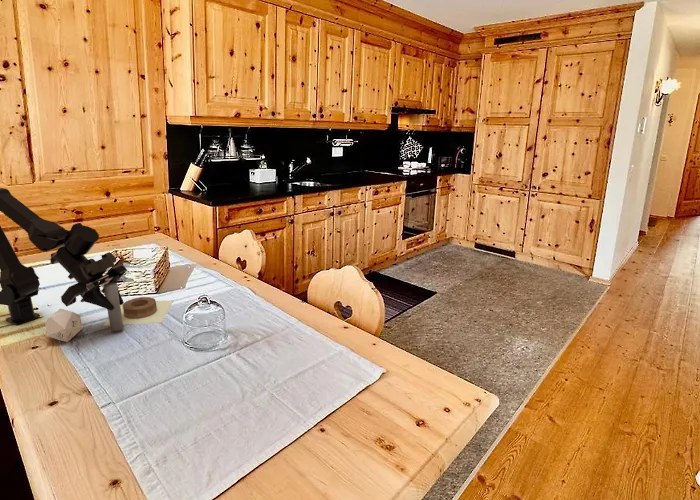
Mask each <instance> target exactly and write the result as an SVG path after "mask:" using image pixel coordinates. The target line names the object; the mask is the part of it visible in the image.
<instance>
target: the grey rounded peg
mask: <svg viewBox="0 0 700 500" xmlns="http://www.w3.org/2000/svg"><path fill="white" fill-rule="evenodd" d="M117 287H118V283H117V284H116V283H108V284H105V285H104V292H105V294H104V296H105V297H106V298H107V299H108V300H109V301H110V303H111V304H112V305H113V306H114V309H113V310H109V309H106V310H107V316H108V319H109V322H110V326H109V328H110V331H112V332H118V331H121V330H124V325H123V321H122V314H121V308H120V301H119V295H118V290H119V287H118V288H117Z"/></svg>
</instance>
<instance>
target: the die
mask: <svg viewBox="0 0 700 500" xmlns="http://www.w3.org/2000/svg"><path fill="white" fill-rule="evenodd" d="M44 327H45V334H46V336H47V337H49V338H52V339H55V340H59V341H62V342H65V343H69V342H70V341H71V339H73V338H74V337H75V336H76V335H77V334H78V333H79V332H80V331H81V330H83V328H84V326H83V322H82V318H81V315H80V314H78V313H76V312H74V311H71V310H67V309H64V308H59V309H57V310H56V311H55V312H54V313H53V314H51V316H50V317H48V318H47V319H46V320H45V322H44Z"/></svg>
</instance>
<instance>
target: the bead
mask: <svg viewBox="0 0 700 500" xmlns="http://www.w3.org/2000/svg"><path fill="white" fill-rule="evenodd" d="M156 301H157V300H156V299H155V298H154V297H151V296H140V297H134V298H131V299H129V300H126V301H124V302H125V303H124V304H123V311H124V316H125V317H126V318H129V319H139V318H144V317H148V316H150V315H153V314H154V313H155V312H156V311H157V306H156Z"/></svg>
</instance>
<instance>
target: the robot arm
mask: <svg viewBox="0 0 700 500" xmlns="http://www.w3.org/2000/svg"><path fill="white" fill-rule="evenodd" d="M0 212H1V213H3V214H4V215H5V216H6V217H7V218H8V219H10V220H11V221H13V223H15V224H16V225H17V226H19V227H20V228H21V229H22V230H24V231H25V232H26V233H27V236H28V239H29V241H30V242H31V243H32V244H33V245H34V247H36V248H37V249H38V250H39V251H41V252H43V253H45V252H51V251H54V250H55V249H57V250H56V251H55V252H52V253H50V262H49V263H50V264H51V265H54V264H56V263H59V265H60V266H61V267H62V268H63V269H65V271H66V272H68V276H67V278H68V279H69V280H73V279H74V280H75V281H76V282H77V283H75V284H73V285H70V286H69V287H68V288H67V289H66V290H65V291H64V292H63V294H62V295H61V296H60V299H61V300H60V301H61V303H63V305H64V306H65V307H69V306H71V305H73V304H75V303H76V302H77V297H78V296H80V297H81V300H80V303H84V302H85V303H87V304H88V303H89V304H92V305H95V306H98V307H100V308H104V309H106V310H107V309H109V310H113V309H114V306H113V305H112V304H111V303H110V301H109V300H108V299H107V298H106V297H105V292H104V285H105V284H108V283H116V284H117V285H118V281H120V279H121V278H122V277H123V276H124V275H125V274H126V272H127V271H128V268H126V267H125V265H124V264H117V265H115V263H116V262H117V259H116V257H115V255H114V254H112V252H110V251H109V252H107V253H104V254H101V259H97V260H96V259H94V258H87V256H85V255H87V254H88V253H89V251H91V249H92V248H93V247H94V246H95V244H96V243H97V242H98V240H99V239H100V235H99V232H98V231H97V230H96V229H95V228H93V227H90V226H88V225H83V224H82V223H81V222H77V223H74V224H73V225H72V226H71V227H70V230H68V229H65V228H64V227H63V226H61V225H60V224H58V223H56V222H55V221H51V220H47V219H45V218H43V217H40V215H38V214H37V213H36V212H34V211H33V210H31V209H30V207H28V206H26V204H23V202H21V201H20V200H18V199H17V198H16V197H15V196H14V195H12V194H11V192H10V190H9V189H7V188H3V187H0ZM108 269H109V270H108ZM39 279H40V277H39V275H37V273H36V271H35V269H34V268H33V267H32V266H28V267H27V266H26V265H24V264H22V262H21V261H20V259H19V258H18V256H17V254H16V251H15V250H14V248H13V247H12V244H11V242H10V241H9V239H8V237H7V235H6V233H5V232H4V230H3V227H2V226H1V225H0V287H1V290H0V305H1V306H7V309H8V313H9V316H8V317H6V318H5V321H7V322H9V323H11V324H13V325H16V326H18V325H21V324H22V325H23V324H24V323H27V322H29V321H33V320H35V319H38V318H41V315H40V314H39V313H36V312H35V309H34V305H33V302H32V298H33V297H35V296H38V295H39V290H40V289H39V288H40V280H39ZM100 286H101V287H100ZM101 288H102V289H101ZM117 288H118V295H119V301H120V305H122V304H123V303H124V302H125V301H124V300H123V298H122V295H121V292H120V290H119V287H118V286H117Z"/></svg>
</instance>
